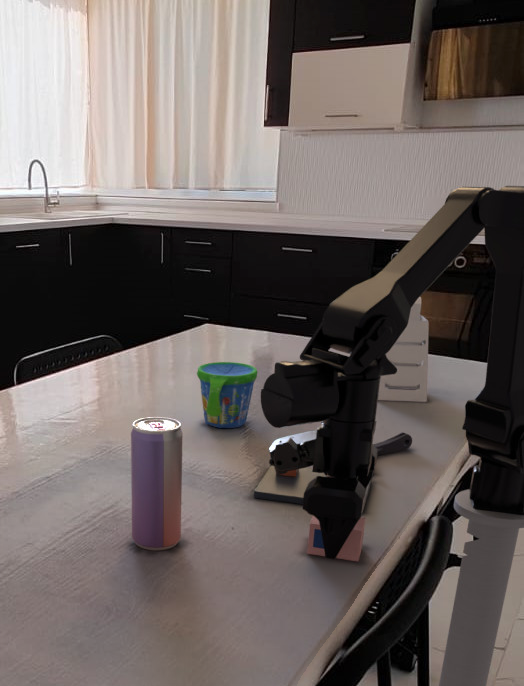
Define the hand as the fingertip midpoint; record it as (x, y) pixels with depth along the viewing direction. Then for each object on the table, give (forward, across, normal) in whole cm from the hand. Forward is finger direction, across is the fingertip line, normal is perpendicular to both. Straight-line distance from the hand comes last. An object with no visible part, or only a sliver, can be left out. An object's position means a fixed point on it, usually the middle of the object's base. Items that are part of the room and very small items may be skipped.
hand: (335, 541), depth 92 cm
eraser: (+1, 0, 0) cm, 1 cm away
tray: (+1, -19, -6) cm, 20 cm away
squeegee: (+1, -38, +1) cm, 38 cm away
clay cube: (0, -22, -10) cm, 24 cm away
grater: (+1, -79, +2) cm, 79 cm away
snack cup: (+1, -46, -26) cm, 53 cm away
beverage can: (+1, +5, -21) cm, 22 cm away
